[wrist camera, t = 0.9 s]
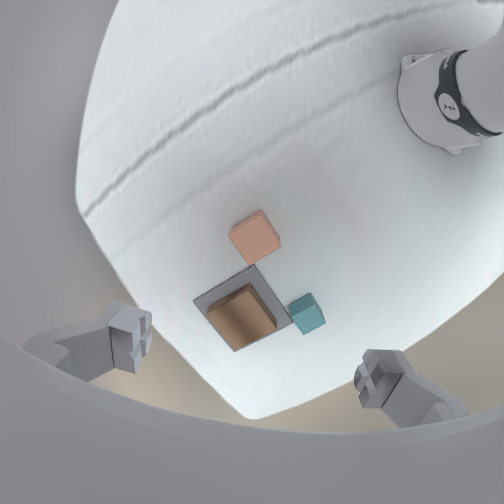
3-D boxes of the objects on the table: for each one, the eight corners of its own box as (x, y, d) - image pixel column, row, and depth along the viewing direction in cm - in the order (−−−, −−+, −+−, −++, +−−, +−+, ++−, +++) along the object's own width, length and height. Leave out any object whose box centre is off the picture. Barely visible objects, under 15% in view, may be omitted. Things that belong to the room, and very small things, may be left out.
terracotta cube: (261, 209, 40) (260, 215, 35) (279, 237, 41) (280, 246, 36) (232, 227, 41) (228, 235, 36) (251, 254, 42) (249, 265, 37)
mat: (253, 264, 42) (253, 265, 42) (293, 320, 45) (293, 322, 44) (193, 300, 45) (192, 301, 44) (234, 350, 47) (234, 352, 47)
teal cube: (310, 292, 43) (314, 304, 40) (321, 310, 44) (325, 323, 40) (289, 304, 44) (291, 317, 40) (300, 321, 45) (303, 335, 41)
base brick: (249, 282, 43) (248, 290, 40) (276, 319, 44) (277, 329, 42) (209, 305, 44) (205, 314, 41) (236, 340, 46) (235, 350, 43)
